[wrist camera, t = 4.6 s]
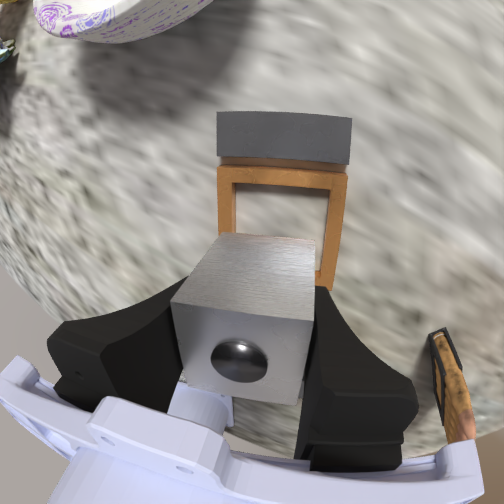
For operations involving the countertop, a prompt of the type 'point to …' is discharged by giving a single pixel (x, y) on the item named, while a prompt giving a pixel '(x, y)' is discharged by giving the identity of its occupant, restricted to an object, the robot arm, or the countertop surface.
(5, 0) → the plant pot
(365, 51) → the countertop surface
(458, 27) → the countertop surface
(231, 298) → the brushed metal block
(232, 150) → the rail
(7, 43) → the passion flower
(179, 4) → the paper bowls
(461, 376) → the ammunition clip
